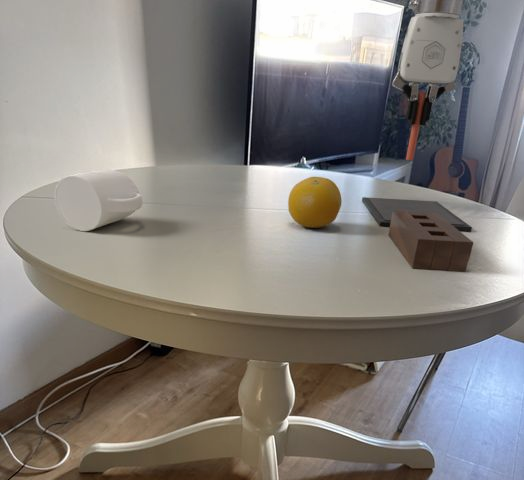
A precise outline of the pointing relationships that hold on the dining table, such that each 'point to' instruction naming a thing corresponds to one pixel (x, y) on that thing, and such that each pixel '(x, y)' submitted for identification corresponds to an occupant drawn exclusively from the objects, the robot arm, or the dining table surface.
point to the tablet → (410, 210)
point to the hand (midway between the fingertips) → (416, 124)
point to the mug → (96, 198)
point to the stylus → (416, 127)
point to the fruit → (314, 202)
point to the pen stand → (429, 241)
